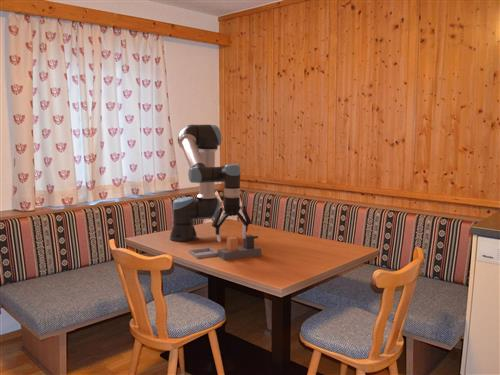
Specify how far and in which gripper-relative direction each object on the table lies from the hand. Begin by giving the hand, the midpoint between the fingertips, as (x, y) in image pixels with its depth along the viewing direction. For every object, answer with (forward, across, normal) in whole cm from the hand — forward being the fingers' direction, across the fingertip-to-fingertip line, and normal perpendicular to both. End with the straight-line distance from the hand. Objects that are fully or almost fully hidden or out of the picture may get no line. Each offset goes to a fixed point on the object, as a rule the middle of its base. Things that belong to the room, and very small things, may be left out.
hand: (231, 239), depth 225 cm
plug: (+9, 0, -1) cm, 9 cm away
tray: (+9, -11, +9) cm, 17 cm away
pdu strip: (+9, +4, -1) cm, 10 cm away
